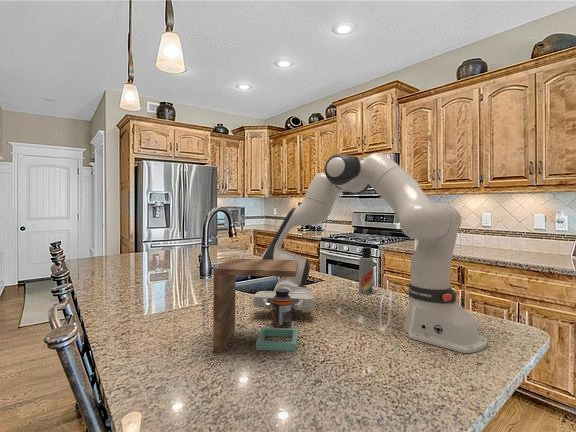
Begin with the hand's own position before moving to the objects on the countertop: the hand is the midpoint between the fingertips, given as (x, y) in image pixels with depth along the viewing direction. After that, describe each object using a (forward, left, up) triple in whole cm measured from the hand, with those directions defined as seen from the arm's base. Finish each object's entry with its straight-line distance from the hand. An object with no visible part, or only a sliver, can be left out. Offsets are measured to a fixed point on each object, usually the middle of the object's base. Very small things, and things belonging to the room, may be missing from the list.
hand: (282, 306), depth 105 cm
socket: (-9, +8, -6) cm, 14 cm away
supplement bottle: (0, 0, -6) cm, 6 cm away
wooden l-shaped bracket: (-6, +12, -6) cm, 15 cm away
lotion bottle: (+10, -53, -6) cm, 54 cm away
